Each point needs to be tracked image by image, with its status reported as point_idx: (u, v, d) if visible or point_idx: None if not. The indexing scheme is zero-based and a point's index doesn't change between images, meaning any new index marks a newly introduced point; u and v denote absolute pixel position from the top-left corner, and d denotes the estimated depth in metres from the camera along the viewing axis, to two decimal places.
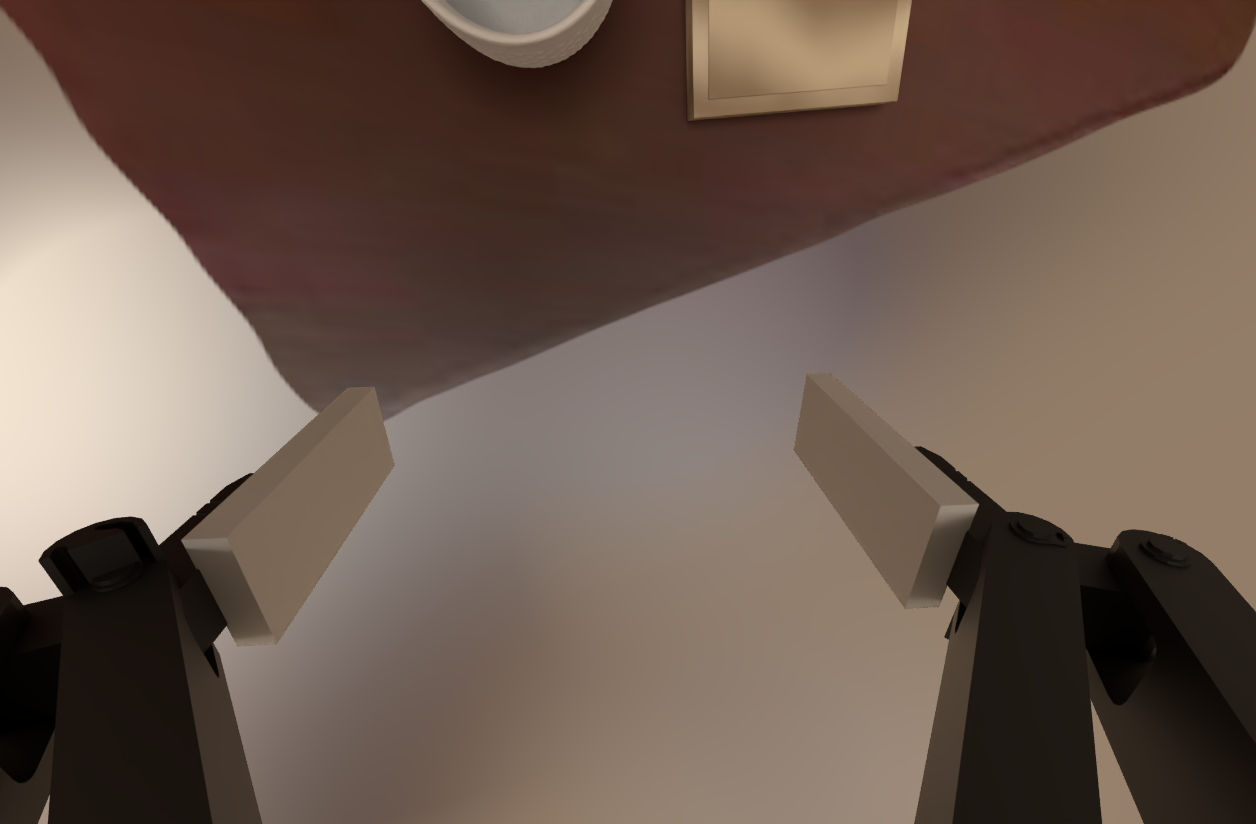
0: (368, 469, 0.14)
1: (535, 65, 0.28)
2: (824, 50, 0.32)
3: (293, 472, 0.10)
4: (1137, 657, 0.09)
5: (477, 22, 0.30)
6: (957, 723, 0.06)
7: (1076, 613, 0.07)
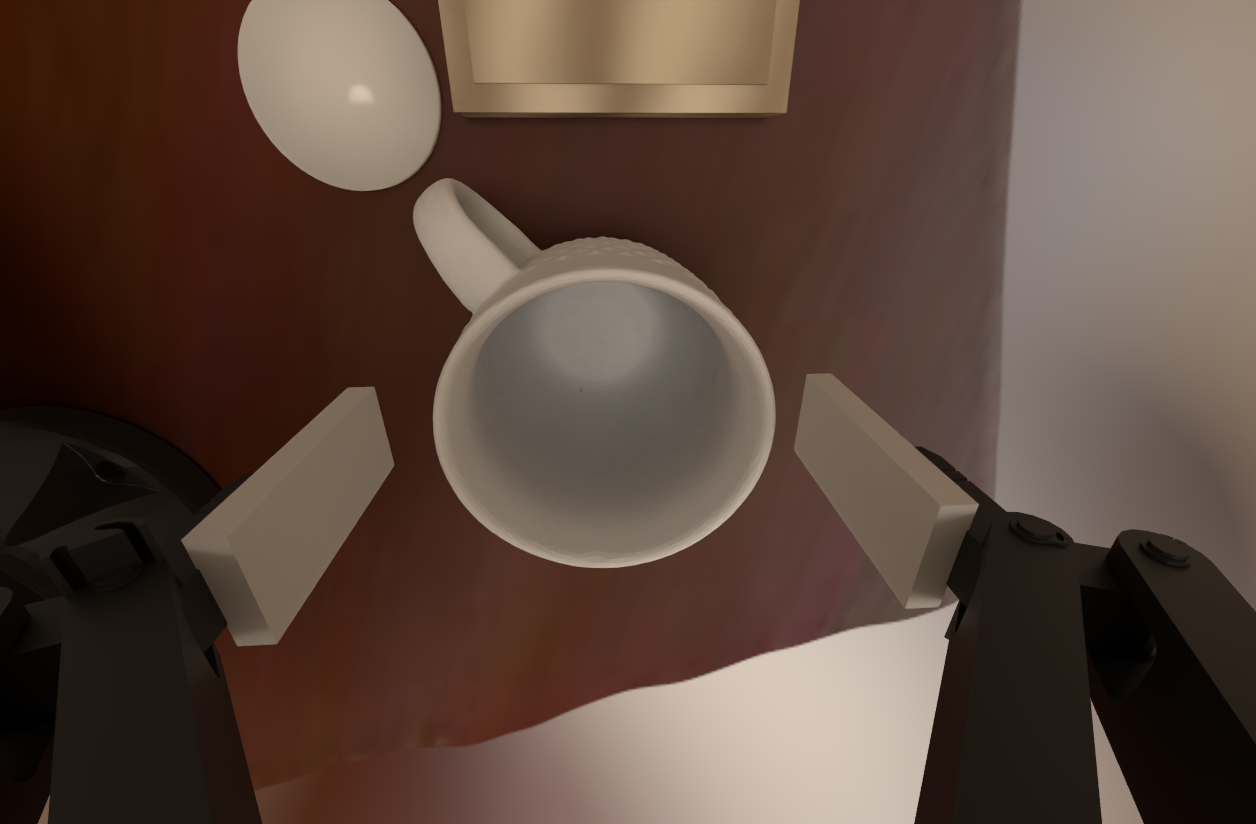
0: (368, 469, 0.14)
1: None
2: None
3: (293, 472, 0.10)
4: (1136, 657, 0.09)
5: (646, 401, 0.26)
6: (957, 723, 0.06)
7: (1076, 613, 0.07)
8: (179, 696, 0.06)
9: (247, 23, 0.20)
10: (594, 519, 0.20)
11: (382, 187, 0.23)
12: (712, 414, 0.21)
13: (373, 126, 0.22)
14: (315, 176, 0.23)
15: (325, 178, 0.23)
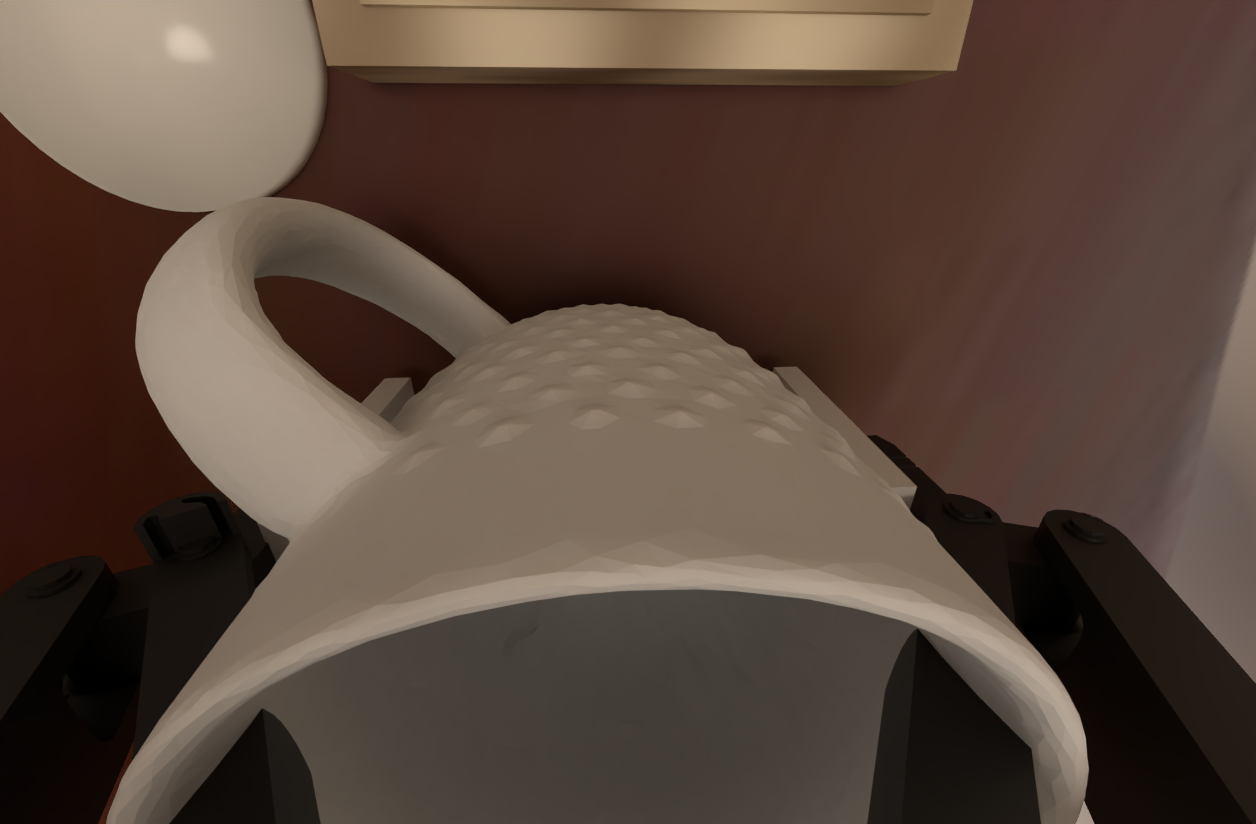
0: None
1: None
2: None
3: None
4: (1065, 630, 0.09)
5: None
6: (904, 702, 0.07)
7: (1005, 586, 0.08)
8: None
9: None
10: None
11: None
12: (816, 637, 0.11)
13: (198, 96, 0.12)
14: (107, 189, 0.13)
15: (126, 191, 0.13)
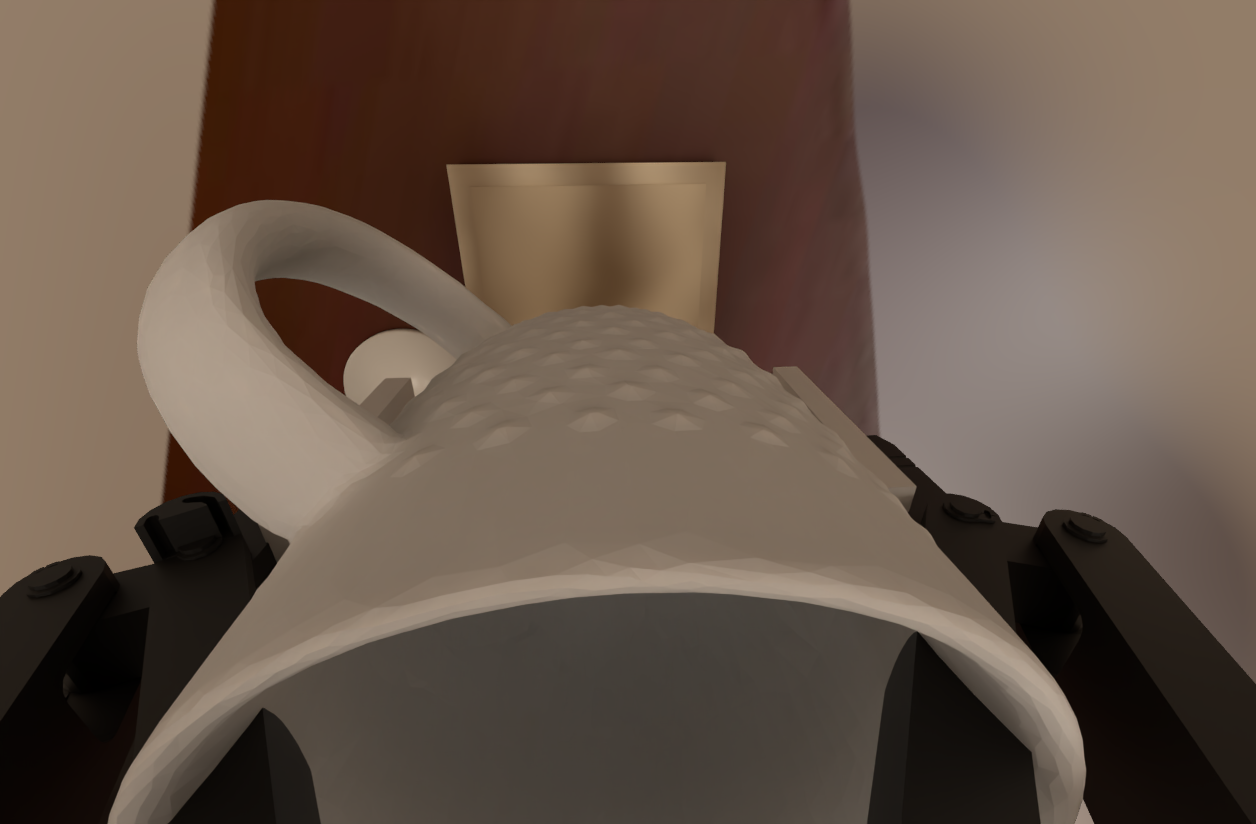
0: None
1: None
2: (662, 272, 0.27)
3: None
4: (1064, 630, 0.09)
5: None
6: (904, 701, 0.07)
7: (1005, 586, 0.08)
8: None
9: (349, 364, 0.31)
10: None
11: None
12: (815, 638, 0.11)
13: None
14: None
15: None
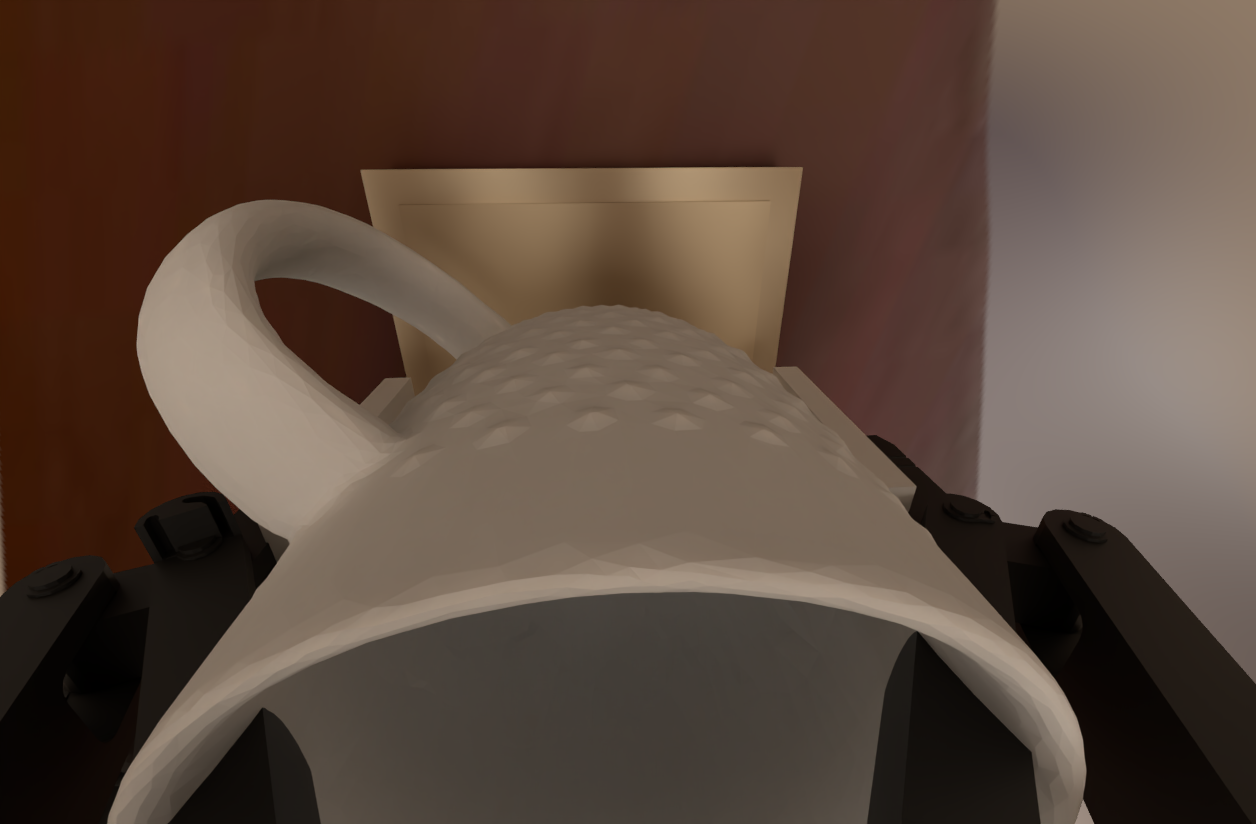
0: None
1: None
2: None
3: None
4: (1064, 630, 0.09)
5: None
6: (904, 701, 0.07)
7: (1005, 586, 0.08)
8: None
9: None
10: None
11: None
12: (815, 638, 0.11)
13: None
14: None
15: None
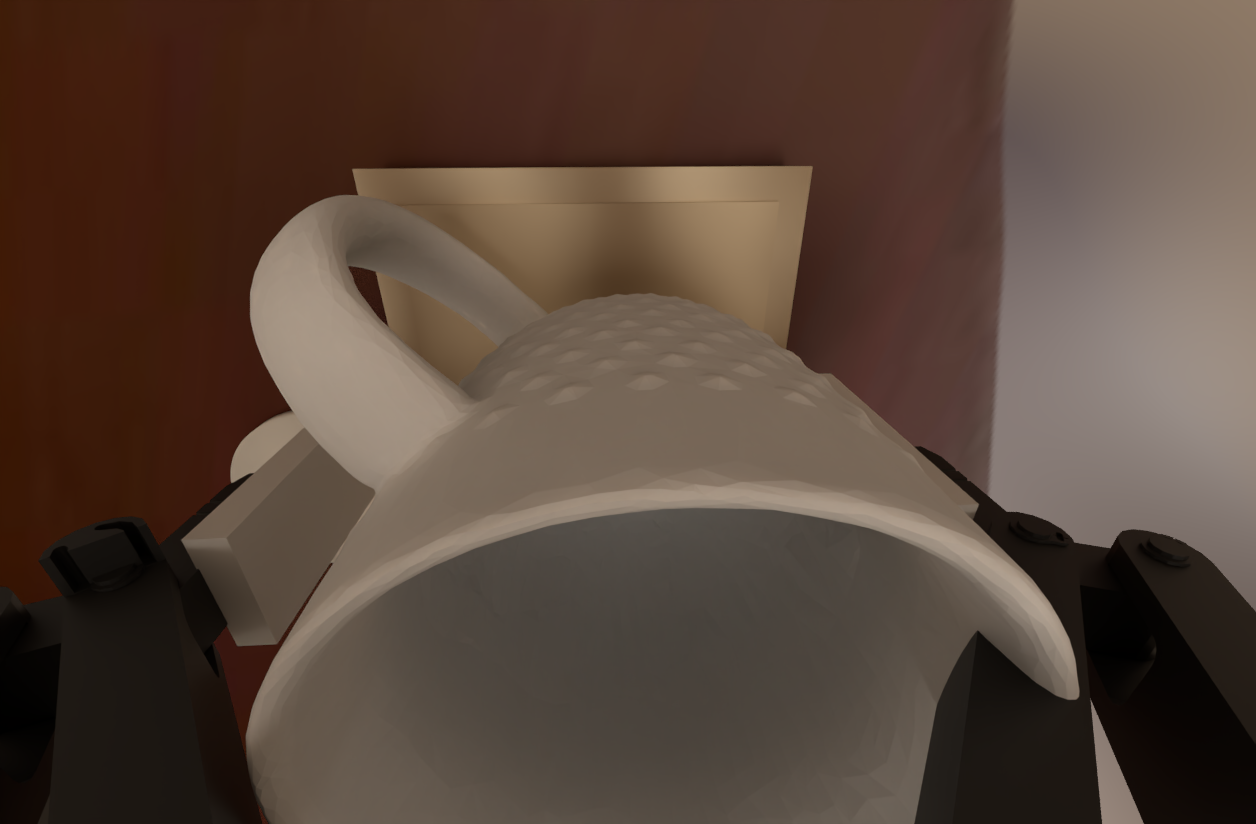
0: None
1: None
2: None
3: (293, 472, 0.10)
4: (1137, 658, 0.09)
5: (700, 524, 0.17)
6: (957, 723, 0.06)
7: (1076, 613, 0.07)
8: (179, 696, 0.06)
9: (236, 462, 0.21)
10: (628, 819, 0.11)
11: None
12: (834, 604, 0.12)
13: None
14: None
15: None
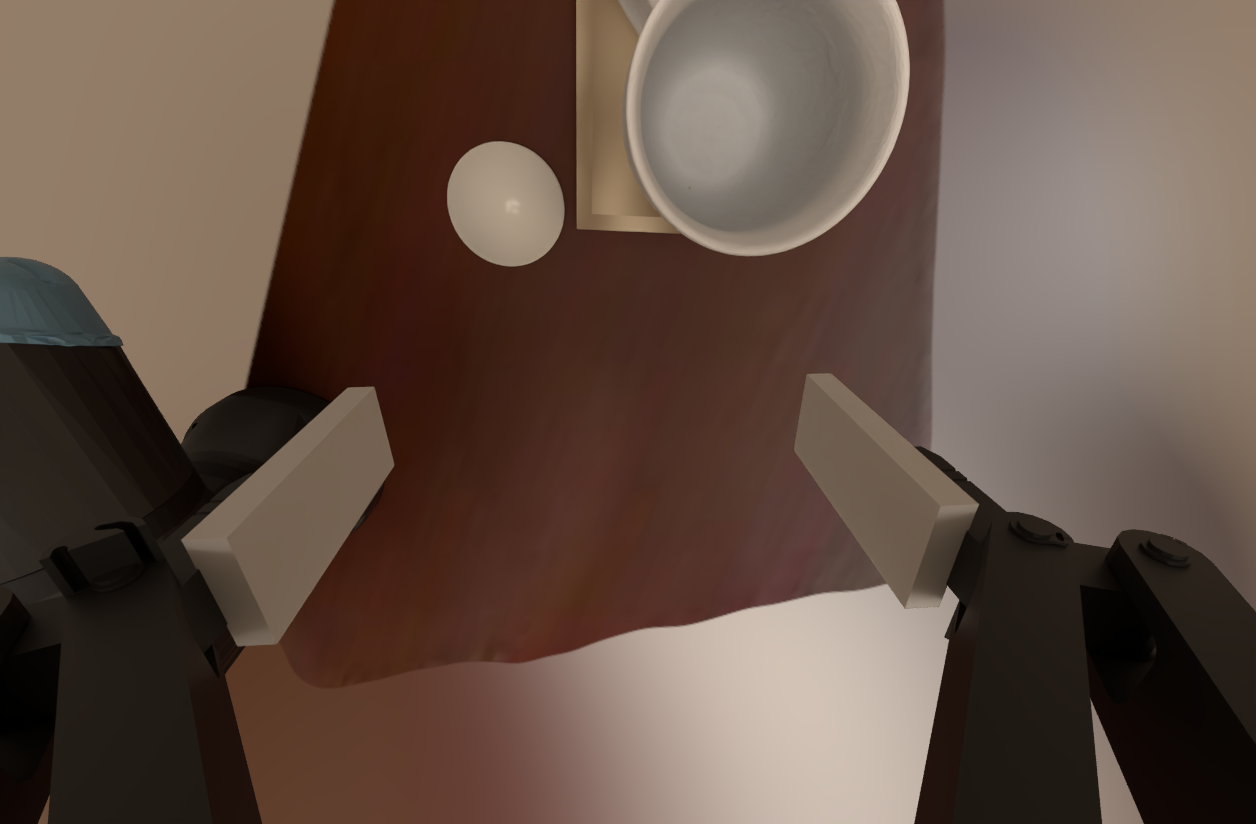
0: (368, 469, 0.14)
1: None
2: None
3: (293, 472, 0.10)
4: (1137, 658, 0.09)
5: (750, 194, 0.30)
6: (957, 723, 0.06)
7: (1076, 613, 0.07)
8: (179, 696, 0.06)
9: (453, 176, 0.33)
10: (725, 232, 0.23)
11: (528, 263, 0.36)
12: (827, 162, 0.24)
13: (524, 227, 0.35)
14: (488, 260, 0.36)
15: (494, 260, 0.36)
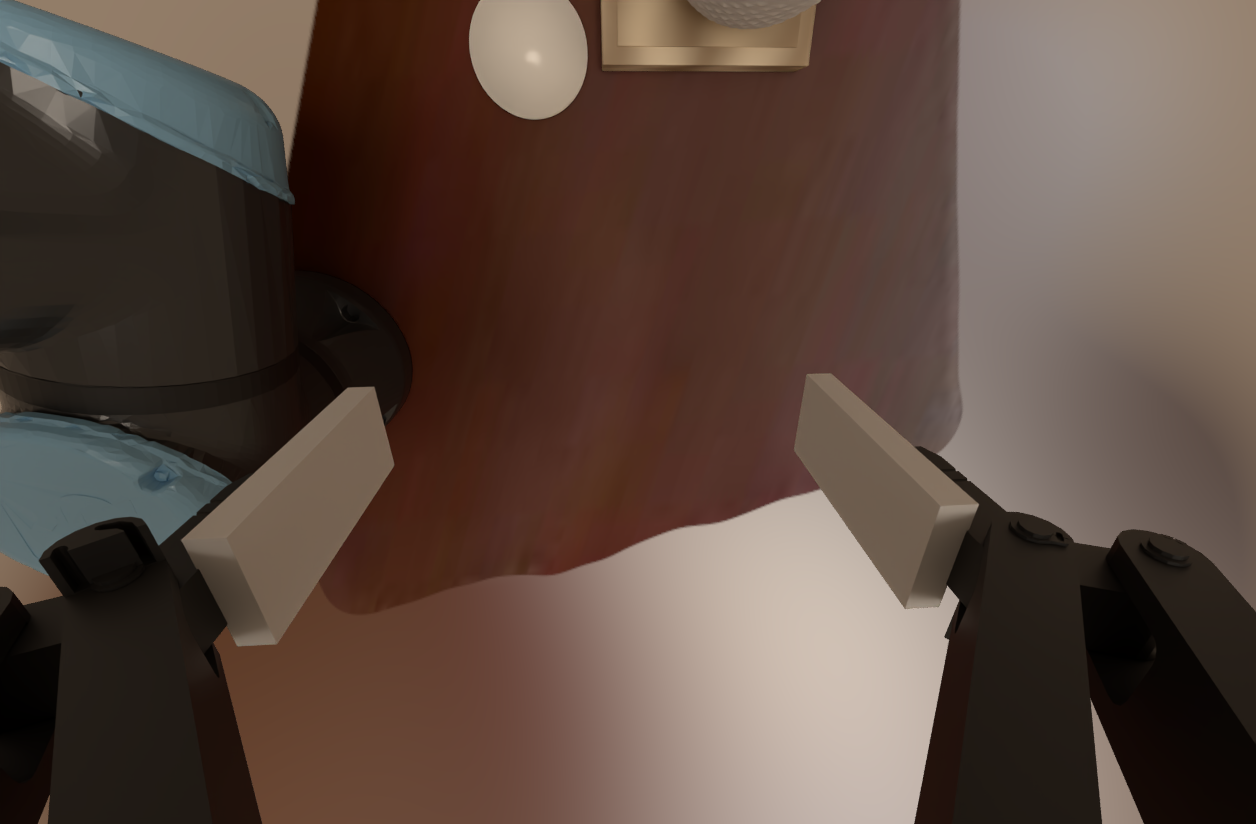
0: (368, 469, 0.14)
1: None
2: None
3: (293, 472, 0.10)
4: (1137, 657, 0.09)
5: None
6: (957, 723, 0.06)
7: (1076, 613, 0.07)
8: (179, 696, 0.06)
9: (474, 20, 0.33)
10: None
11: (554, 113, 0.36)
12: None
13: (548, 72, 0.34)
14: (514, 113, 0.35)
15: (520, 113, 0.35)
